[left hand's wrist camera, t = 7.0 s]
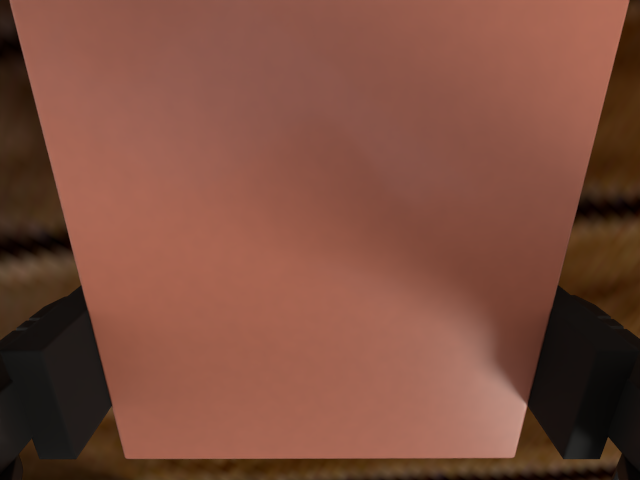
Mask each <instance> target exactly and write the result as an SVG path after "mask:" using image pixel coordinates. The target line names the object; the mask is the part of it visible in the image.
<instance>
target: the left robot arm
mask: <svg viewBox="0 0 640 480" xmlns="http://www.w3.org/2000/svg"><path fill="white" fill-rule="evenodd" d="M111 406H112V404H111V400H110V396H109V392H108V388H107V384H106V380H105V376H104V372H103V368H102V364H101V360H100V356H99V352H98V348H97V344H96V341H95V337H94V333H93V329H92V325H91V321H90V317H89V313H88V309H87V305H86V301H85V297H84V293H83V289H82V285H81V286H80V287H79V288H77V289H76V290H75V291H74V292H72V293H71V294H70V295H69V296H67V297H63V298H61V299H59V300H57V301H55V302H53V303H51V304H49V305H47V306H45V307H43V308H42V309H41V310H39V311H38V312H37V313H36V314H34V315H33V316H32V317H30V318H29V321H25V322H24V323H23V324H21V325H20V326H19V327H17V328H16V331H12V332H11V333H10V334H8V335H7V336H6V337H4V338H3V339H2V340H0V480H22V474H23V467H22V462H21V460H20V457H19V453H20V452H21V451H22V449H23V448H24V447H25V446H26V445H27V443H28V442H29V441H30V440H31V439H32V440H33V442H34V445H35V448H36V450H37V453H38V456H39V459H77V457H78V456H79V454H80V453H81V451H82V450H83V448H84V447H85V445H86V444H87V442H88V441H89V439H90V438H91V436H92V435H93V433H94V432H95V430H96V429H97V427H98V426H99V424H100V423H101V421H102V420H103V418H104V417H105V415H106V414H107V412H108V411H109V409H110V408H111ZM528 407H529V408H530V410H531V411H532V413H533V414H534V416H535V417H536V419H537V420H538V422H539V423H540V425H541V426H542V428H543V429H544V431H545V432H546V434H547V435H548V437H549V438H550V440H551V441H552V443H553V444H554V446H555V447H556V449H557V450H558V452H559V453H560V455H561V456H562V458H563V459H600V457H601V454H602V452H603V449H604V446H605V444H606V441H607V438H608V437H609V438H610V439H611V441H612V442H613V443H614V444H615V445H616V446H617V448H618V449H619V450H620V451H621V452H622V454H621V457H620V460H619V462H618V465H617V467H616V470H615V472H614V475H613V477H612V480H640V339H639V338H638V337H636V336H635V335H634V334H633V333H631V332H630V331H629V330H627V329H624V328H623V326H622V325H621V324H619V323H618V322H617V321H615V320H614V319H611V317H610V316H609V315H608V314H606V313H605V312H604V311H602V310H601V309H600V308H598V307H597V306H596V305H594V304H592V303H590V302H588V301H586V300H584V299H582V298H579V297H577V296H575V295H570V294H568V293H567V292H566V291H565V290H563V289H562V288H561V287H560V286H557V290H556V294H555V298H554V302H553V306H552V310H551V314H550V318H549V322H548V326H547V330H546V334H545V338H544V342H543V346H542V350H541V354H540V358H539V362H538V366H537V369H536V373H535V377H534V381H533V385H532V389H531V393H530V397H529V401H528Z"/></svg>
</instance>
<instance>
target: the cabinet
mask: <svg viewBox="0 0 640 480" xmlns="http://www.w3.org/2000/svg"><path fill="white" fill-rule="evenodd" d="M9 1H10V5H11V9H12V13H13V17H14V20H15V24H16V28H17V32H18V36H19V40H20V44H21V48H22V52H23V56H24V60H25V64H26V68H27V72H28V76H29V80H30V84H31V88H32V92H33V96H34V99H35V103H36V107H37V111H38V115H39V119H40V123H41V127H42V131H43V135H44V139H45V143H46V147H47V151H48V155H49V159H50V163H51V167H52V171H53V175H54V179H55V182H56V186H57V190H58V194H59V198H60V202H61V206H62V210H63V214H64V218H65V222H66V226H67V230H68V234H69V238H70V242H71V246H72V250H73V254H74V258H75V261H76V265H77V269H78V273H79V277H80V281H81V285H82V289H83V293H84V297H85V301H86V305H87V309H88V313H89V317H90V321H91V325H92V329H93V333H94V337H95V341H96V344H97V348H98V352H99V356H100V360H101V364H102V368H103V372H104V376H105V380H106V384H107V388H108V392H109V396H110V400H111V404H112V408H113V412H114V416H115V420H116V423H117V427H118V431H119V435H120V439H121V443H122V447H123V451H124V455H125V458H127V459H272V458H513V457H514V456H515V453H516V449H517V445H518V441H519V437H520V433H521V429H522V425H523V421H524V417H525V413H526V409H527V405H528V401H529V397H530V393H531V389H532V385H533V381H534V377H535V373H536V369H537V366H538V362H539V358H540V354H541V350H542V346H543V342H544V338H545V334H546V330H547V326H548V322H549V318H550V314H551V310H552V306H553V302H554V298H555V294H556V290H557V286H558V282H559V278H560V274H561V270H562V266H563V262H564V258H565V254H566V250H567V246H568V242H569V238H570V234H571V230H572V226H573V222H574V218H575V214H576V210H577V206H578V202H579V199H580V195H581V191H582V187H583V183H584V179H585V175H586V171H587V167H588V163H589V159H590V155H591V151H592V147H593V143H594V139H595V135H596V131H597V127H598V123H599V119H600V115H601V111H602V107H603V103H604V99H605V95H606V91H607V87H608V83H609V79H610V75H611V71H612V67H613V63H614V59H615V55H616V51H617V47H618V43H619V39H620V35H621V32H622V28H623V24H624V20H625V16H626V12H627V8H628V4H629V0H9Z"/></svg>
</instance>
